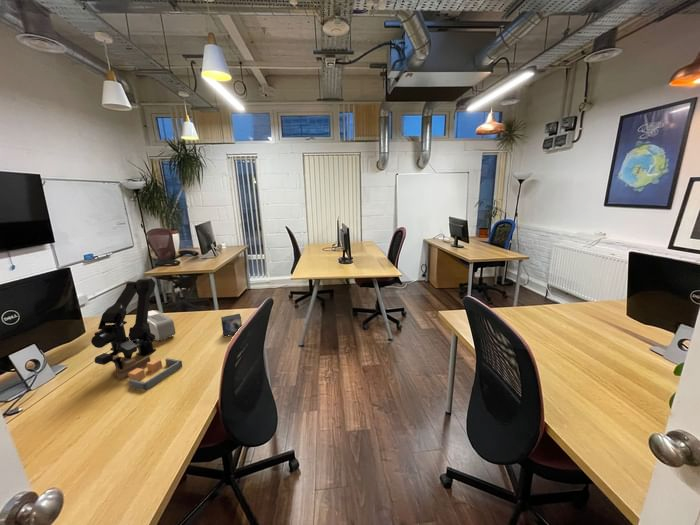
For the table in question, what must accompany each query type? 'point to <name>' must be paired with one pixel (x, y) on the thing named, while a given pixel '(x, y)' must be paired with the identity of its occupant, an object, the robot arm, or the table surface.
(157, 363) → the orange cube
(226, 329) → the small box
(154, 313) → the light grey rounded block
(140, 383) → the tray
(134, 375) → the chip
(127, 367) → the brown angular piece
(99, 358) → the robot arm
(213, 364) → the table surface
